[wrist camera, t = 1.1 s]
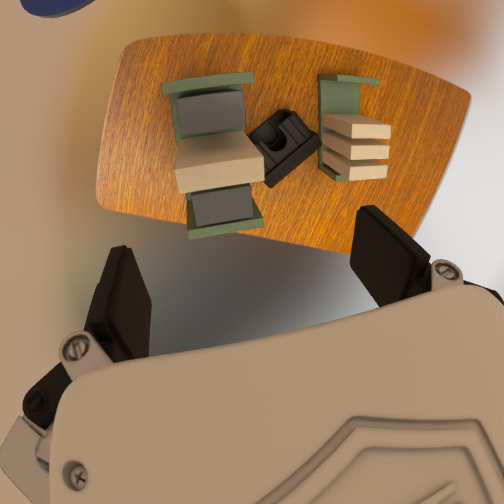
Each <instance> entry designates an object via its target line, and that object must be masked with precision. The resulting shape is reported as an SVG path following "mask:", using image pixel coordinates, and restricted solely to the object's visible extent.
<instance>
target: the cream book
mask: <svg viewBox="0 0 504 504" xmlns="http://www.w3.org/2000/svg"><path fill="white" fill-rule="evenodd" d="M174 171H175V176H176V181H177V186H178V191H179V194H183V193H188V192H194V191H200V190H206V189H212V188H218V187H224V186H231V185H237V184H244V183H251V182H259V181H265V177H264V157H263V155H262V154H261V153H260V152H259V150H258V149H257V148H256V147H255V145H254V144H253V143H252V142H251V140H250V139H249V138H248V137H247V136H246V134H245V133H244V132H243V131H242V130H240V131H232V132H224V133H217V134H210V135H203V136H197V137H191V138H185V139H180V140H178V146H177V153H176V161H175V169H174Z"/></svg>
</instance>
